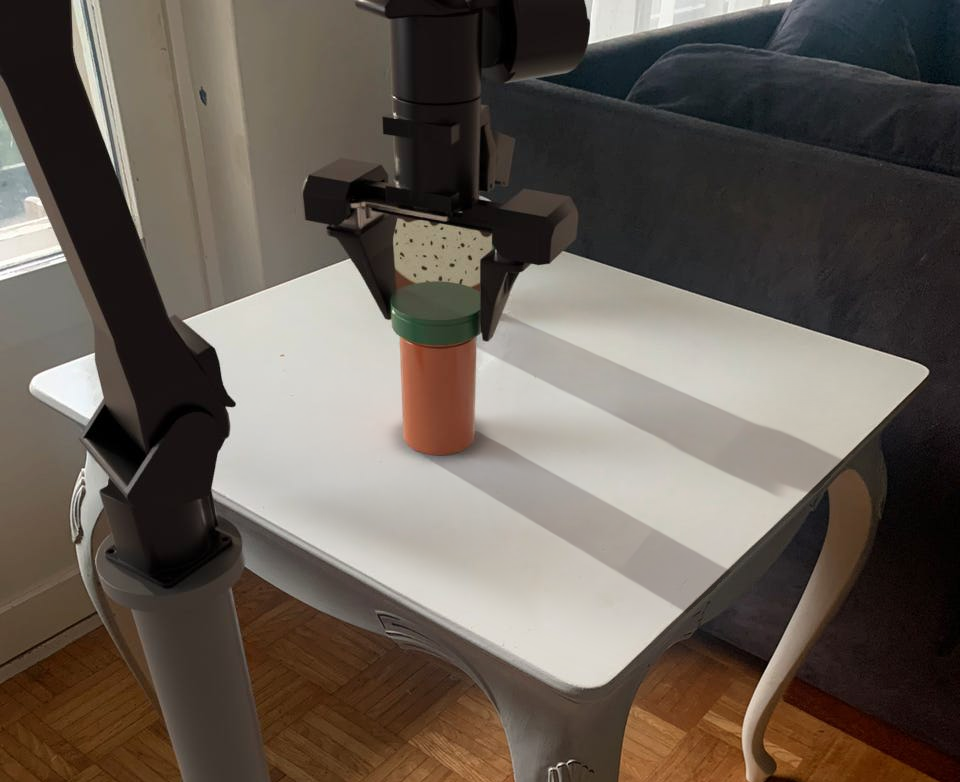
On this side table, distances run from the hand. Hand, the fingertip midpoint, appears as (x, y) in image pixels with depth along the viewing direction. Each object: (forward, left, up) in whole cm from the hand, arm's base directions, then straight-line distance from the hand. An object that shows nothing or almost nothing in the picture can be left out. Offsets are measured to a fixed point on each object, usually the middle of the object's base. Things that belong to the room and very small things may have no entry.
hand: (438, 328), depth 71 cm
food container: (+22, +14, -9) cm, 28 cm away
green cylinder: (0, 0, +2) cm, 2 cm away
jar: (0, 0, -9) cm, 9 cm away
